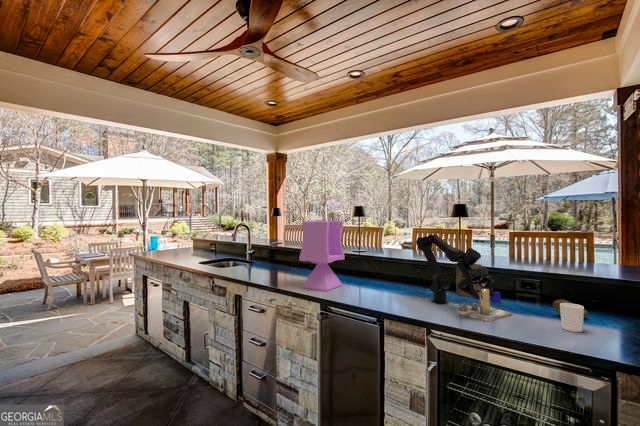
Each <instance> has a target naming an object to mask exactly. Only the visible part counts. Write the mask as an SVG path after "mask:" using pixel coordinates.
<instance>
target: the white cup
mask: <svg viewBox="0 0 640 426" xmlns="http://www.w3.org/2000/svg"><path fill="white" fill-rule="evenodd" d="M584 309H585V307H584V305H581V304H577V303H572V302H570V303H560V321H561V328H562V329H563V330H565V331H568V332H572V333H573V332H574V333H581V332H583V328H584V327H583V325H584V318H583V317H584Z"/></svg>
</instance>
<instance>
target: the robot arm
mask: <svg viewBox="0 0 640 426" xmlns="http://www.w3.org/2000/svg"><path fill="white" fill-rule="evenodd" d="M415 243H416V246H417V248H418V249H419V250H420V251H421V252H423V255H424V257H425V259H426V261H427V264H428V266H429V269H430V270H431V274H432V284H431V285H430V286H429V291H430V292H432V300H430V301H431V302H432V303H435V304H439V305H441V304H442V305H443V304H448V303H449V301H448V300H447V292H449V290H450V287H451V279H450V277H449V275H448V274H447V273H443V272H442V270H441V267H440V265H439V263H438V261H437V259H436V257H435V256H436V255H435V253H434V251H433V245H434V246H436V247H437V248H438V249H440V250H441V251H442V252H444V254H445V257H446V258H447V259H448V260H449V261H450V262H456V263H454V266H453V269H454V270H457V269H459V270H460V272H461V273H462V276H461V277H462V278H465V279H462V280H461V281H460V282H459V283H458V288H459V290H462V291H464V292H466V293H468V294H470V295H471V296H473V297H472V298H475V300H478V301H479V299H480V297H479V296H478V294H477V292H476V291H475V289H474V286H473V285H478V284H479V285H480V286H481V287H482V288H488V289H489V296H491V297H492V298H493V297H494V290H493V291H492V288H493V287H492V285H493V283H494V281H495V279H494V278H493V277H492V276H487V275H489V274H488V273H490V271H489V269H488V268H487V266H483V267H481V268H479V269H473V268H472V267H471V266H470V265H474V264H477V262H479V260H480V259H481V258H482V255H481V253H480V252H479V251H477V250H475V249H474V248H472V247H469V248H468V249H467V250H466V251H465V252H464V250H461V249H460V248H457V247H453V246H452V245H450V244H449V243H448V242H447V241H445V240H444V239H442V238H441V237H439V235H438V234H429V235H426V236H420V237H418V238H416V241H415ZM482 276H483V279H482V280H480V278H482Z"/></svg>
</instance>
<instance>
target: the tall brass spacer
mask: <svg viewBox="0 0 640 426" xmlns="http://www.w3.org/2000/svg"><path fill="white" fill-rule="evenodd" d="M479 298H480V314H481V315H485V316H489V315H490V307H491V305H490V306H489V303H490V300H489V289H488V288H480V297H479Z"/></svg>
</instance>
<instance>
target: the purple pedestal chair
mask: <svg viewBox="0 0 640 426" xmlns="http://www.w3.org/2000/svg"><path fill="white" fill-rule="evenodd" d="M344 223H345V221H344V220H307V221H305V220H303V221H301V225H302V231H303V232H302V233H303V241H302V246H301V250H300V254H299V257H298V258H299V259H298V260H299V262H300V261H301V262H308V263H313V264H316V265H315V267H314V268H313V270H312V271H311V272H310V274H309V276H307V278H306V280H305V281H304V282H303V284H302V286H301V287H302V289H307V290H313V291H320V292H325V293H328V292H331V291H332V290H335V289H338V288H340V287H341V288H342V286H343V283H342V282H341V280H340V279H339V278H338V276H337V275H336V274H335V272H334V270H332V268H331V267H330V266H329V264H330V263H332V262H335V261H343V260H345V259H346V258H345V256H346V255H345V252H344V249H343V245H342V232H343V226H344Z"/></svg>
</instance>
